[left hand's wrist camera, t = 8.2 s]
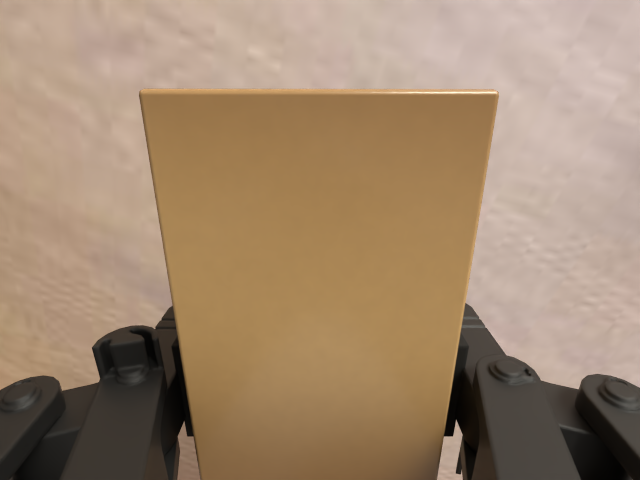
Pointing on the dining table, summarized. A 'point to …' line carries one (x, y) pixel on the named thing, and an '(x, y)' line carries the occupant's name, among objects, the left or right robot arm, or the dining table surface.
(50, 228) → the dining table surface
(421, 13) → the dining table surface
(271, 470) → the bar
